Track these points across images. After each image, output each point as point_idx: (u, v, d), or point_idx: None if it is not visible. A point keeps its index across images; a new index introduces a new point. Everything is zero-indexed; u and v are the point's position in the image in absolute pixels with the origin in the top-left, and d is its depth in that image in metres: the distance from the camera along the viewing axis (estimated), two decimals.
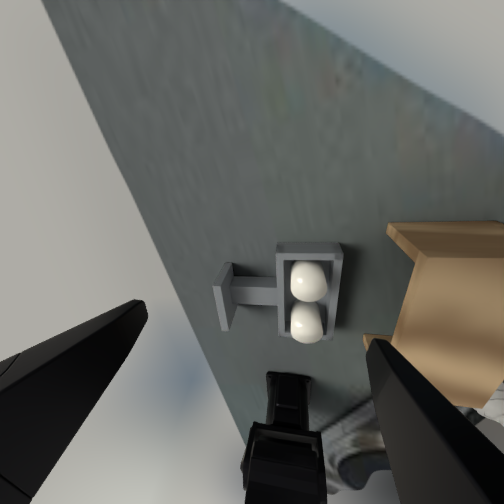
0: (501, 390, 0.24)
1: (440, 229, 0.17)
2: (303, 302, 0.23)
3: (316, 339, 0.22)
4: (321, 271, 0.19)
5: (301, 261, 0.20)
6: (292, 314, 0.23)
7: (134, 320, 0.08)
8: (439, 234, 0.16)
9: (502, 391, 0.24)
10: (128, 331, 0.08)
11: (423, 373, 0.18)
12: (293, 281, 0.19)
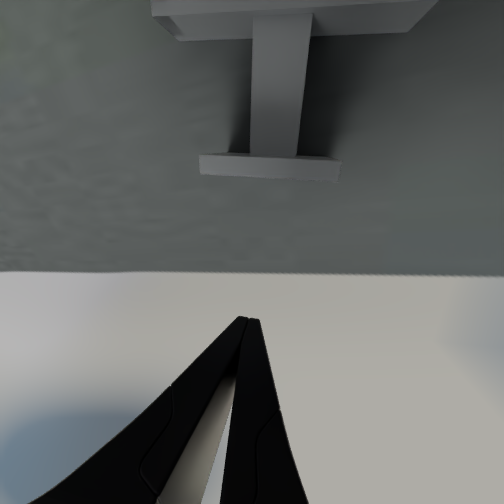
0: None
1: None
2: None
3: None
4: None
5: None
6: None
7: None
8: None
9: None
10: None
11: None
12: None
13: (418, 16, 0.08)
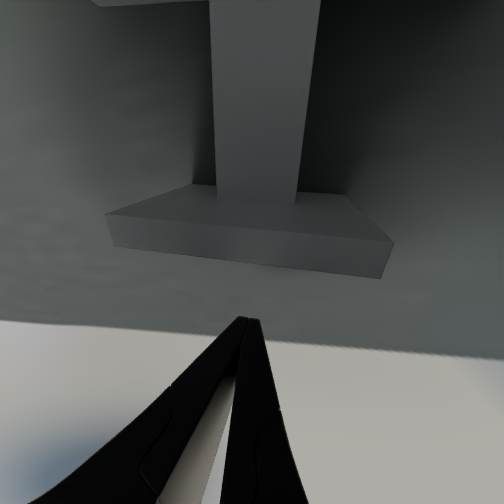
0: None
1: None
2: None
3: None
4: None
5: None
6: None
7: None
8: None
9: None
10: None
11: None
12: None
13: None
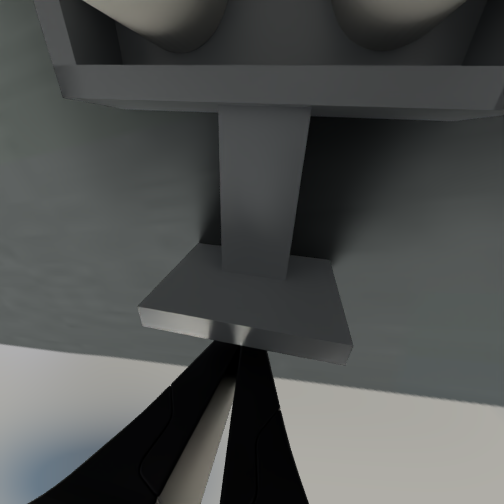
0: None
1: None
2: None
3: None
4: None
5: None
6: (375, 5, 0.04)
7: None
8: None
9: None
10: None
11: None
12: None
13: (482, 116, 0.05)
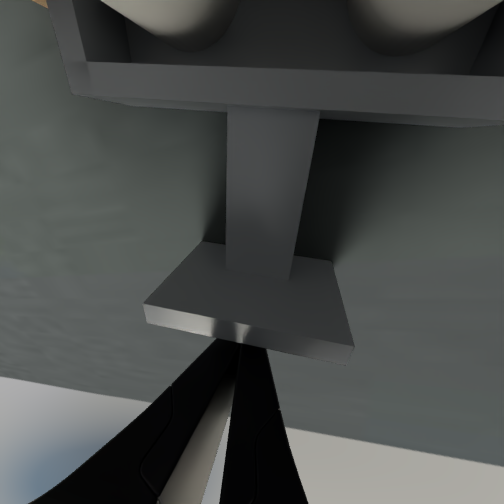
0: None
1: None
2: None
3: None
4: None
5: None
6: (390, 17, 0.04)
7: None
8: None
9: None
10: None
11: None
12: None
13: (487, 124, 0.05)
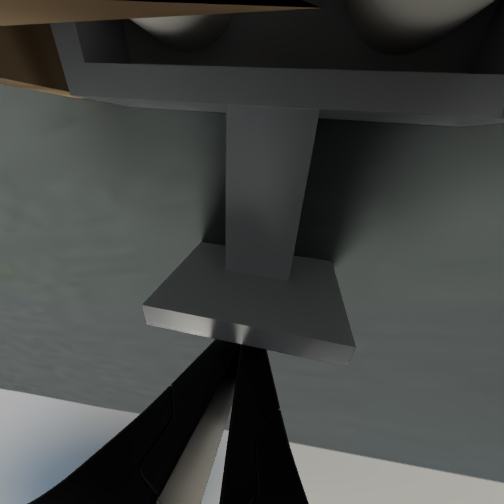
0: None
1: None
2: None
3: None
4: None
5: None
6: (392, 10, 0.04)
7: None
8: None
9: None
10: None
11: None
12: None
13: (487, 123, 0.05)
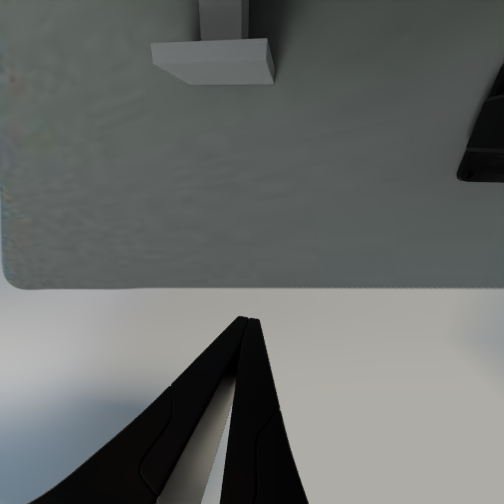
0: None
1: None
2: None
3: None
4: None
5: None
6: None
7: None
8: None
9: None
10: None
11: None
12: None
13: None
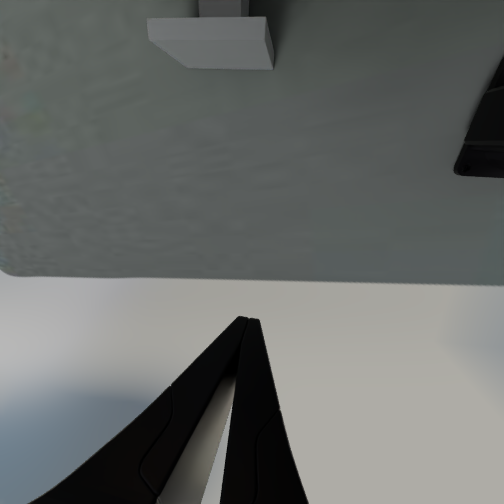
0: None
1: None
2: None
3: None
4: None
5: None
6: None
7: None
8: None
9: None
10: None
11: None
12: None
13: None
